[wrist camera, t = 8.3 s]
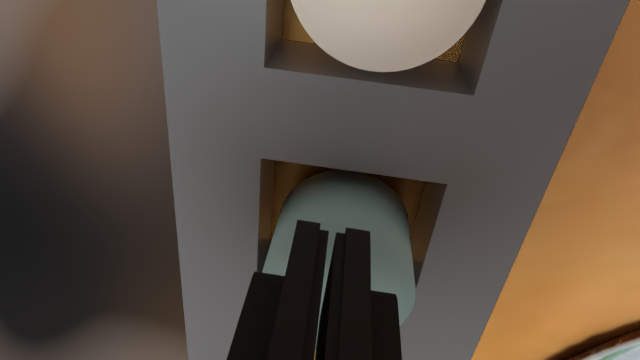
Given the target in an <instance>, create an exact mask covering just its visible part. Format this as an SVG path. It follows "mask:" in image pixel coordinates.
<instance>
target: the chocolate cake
mask: <svg viewBox="0 0 640 360" xmlns="http://www.w3.org/2000/svg"><path fill="white" fill-rule="evenodd" d="M566 360H640V329H638V330H635V331H632V332H629V333H627V334H625V335H621V336H619V337H617V338H614V339H612V340H610V341H607V342H605V343H603V344H600V345H598V346H595V347H593V348H591V349H589V350H586V351H584V352H582V353H579V354H577V355H575V356H573V357H570V358H568V359H566Z"/></svg>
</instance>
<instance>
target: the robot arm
mask: <svg viewBox="0 0 640 360" xmlns="http://www.w3.org/2000/svg"><path fill="white" fill-rule="evenodd" d="M320 225H321V223H316V222H310V221H304V220H297V224H296V228H295V233H294V237H293V242H292V246H291V251H290V255H289V260H288V264H287V269H286V273H285V276H280V275H274V274H268V273H262V272H254V273H253V276H252V278H251V282H250V285H249V288H248V291H247V295H246V298H245V301H244V304H243V308H242V311H241V314H240V317H239V321H238V324H237V327H236V330H235V334H234V337H233V340H232V343H231V346H230V350H229V353H228V356H227V359H226V360H314V356H315V360H402V351H401V338H400V325H399V312H398V301H397V296H396V294H392V293H386V292H379V291H373V290H371V242H370V231H366V230H360V229H354V228H348V227H347V228H346V230H345V233H339V232H336V235H335V241H334V246H333V251H332V256H331V261H330V267H329V272H328V277H327V282H326V288H325V293H324V298H323V303H322V308H321V314H320V320H319V313H320V304H321V296H322V287H323V278H324V270H325V261H326V253H327V244H328V235H329V231H326V230H320ZM318 321H319V327H318ZM317 330H318V336H317ZM316 338H317V344H316ZM315 347H316V353H315Z"/></svg>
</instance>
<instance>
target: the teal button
mask: <svg viewBox="0 0 640 360" xmlns="http://www.w3.org/2000/svg"><path fill="white" fill-rule="evenodd" d="M297 220H304V221H310V222H316V223H321V225H320V230H326V231H329V235H328V244H327V253H326V261H325V270H324V278H323V287H322V296H321V304H320V313H319V320H320V314H321V308H322V303H323V298H324V293H325V288H326V282H327V277H328V272H329V267H330V261H331V256H332V251H333V246H334V241H335V235H336V232H339V233H345V230H346V228H347V227H348V228H354V229H360V230H366V231H370V242H371V290H373V291H379V292H386V293H392V294H396V296H397V301H398V312H399V325H401V324H402V323H403V322H404V321H405V320H406V319H407V317H408V316H409V314H410V312H411V311H412V308H413V306H414V302H415V297H416V288H415V278H414V269H413V259H412V249H411V239H410V230H409V220H408V214H407V211H406V208H405V206H404V204H403V202H402V201H401V199H400V198H399V196H398V195H397V194H396V193H395V192H394V191H393V190H392V189H391V188H390V187H389V186H387V185H386V184H385V183H383V182H381V181H380V180H378V179H376V178H374V177H372V176H369V175H366V174H363V173H359V172H354V171H345V170H338V171H328V172H323V173H319V174H316V175H314V176H311V177H309V178H307V179H305V180H303V181H302V182H300V183H299V184H298V185H296V186H295V187H294V188H293V189H292V190H291V191H290V193H289V194H288V195H287V197H286V198H285V200H284V202H283V205H282V208H281V211H280V214H279V218H278V221H277V224H276V228H275V231H274V234H273V238H272V241H271V244H270V248H269V251H268V254H267V258H266V261H265V264H264V268H263V271H262V273H268V274H274V275H280V276H285V273H286V269H287V264H288V260H289V255H290V251H291V246H292V242H293V237H294V233H295V228H296V224H297ZM318 327H319V321H318ZM317 336H318V330H317ZM316 340H317V338H316Z"/></svg>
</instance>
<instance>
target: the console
mask: <svg viewBox="0 0 640 360" xmlns="http://www.w3.org/2000/svg"><path fill="white" fill-rule="evenodd" d="M629 2H630V0H486V1H485V3H484V5H483V8H482V10H481V12H480V13H479V15H478V16H477V18H476V20H475V21H474V23H473V24H472V26H471V27H470V28H469V29H468V30H467V32H466V34H465V37H464V41H463V45H462V49H461V52H460V56H459V60H458V62H450V61H443V60H435V59H433V60H431V61H429V62H426V63H424V64H422V65H420V66H416V67H413V68H410V69H406V70H401V71H395V72H374V71H367V70H362V69H358V68H355V67H352V66H349V65H347V64H345V63H343V62H341V61H339V60H337V59H335V58H334V57H332V56H331V55H329V54H328V53H326V52H325V51H324V50H323V49H322V48H320V47H319V46H318V45H317V44H313V43H305V42H297V41H290V40H282V32H283V14H284V0H157V11H158V22H159V33H160V45H161V55H162V67H163V78H164V90H165V101H166V113H167V124H168V136H169V147H170V158H171V170H172V181H173V192H174V204H175V215H176V227H177V238H178V249H179V261H180V272H181V282H182V283H181V284H182V294H183V305H184V318H185V329H186V340H187V351H188V360H226V359H227V356H228V353H229V350H230V346H231V343H232V340H233V337H234V334H235V330H236V327H237V324H238V321H239V317H240V314H241V311H242V308H243V304H244V301H245V298H246V295H247V291H248V288H249V285H250V282H251V278H252V276H253V273H254V272H262V271H263V268H264V264H265V261H266V258H267V254H268V251H269V248H270V244H271V231H272V213H273V195H274V177H275V160H277V161H284V162H291V163H299V164H306V165H313V166H320V167H327V168H334V169H341V170H349V171H356V172H363V173H370V174H377V175H384V176H392V177H399V178H406V179H413V180H420V181H426V183H425V186H424V190H423V194H422V198H421V201H420V205H419V209H418V212H417V216H416V220H415V224H414V227H413V231H412V235H411V249H412V259H413V269H414V278H415V288H416V297H415V302H414V306H413V308H412V311H411V312H410V314H409V316H408V317H407V319H406V320H405V321H404V322H403V323H402V324H401V325H400V338H401V351H402V360H471V358H472V356H473V354H474V351H475V349H476V347H477V345H478V342H479V340H480V338H481V336H482V333H483V331H484V329H485V327H486V324H487V322H488V320H489V318H490V315H491V313H492V311H493V309H494V306H495V304H496V302H497V300H498V297H499V295H500V293H501V290H502V288H503V286H504V284H505V281H506V279H507V277H508V275H509V272H510V270H511V268H512V266H513V263H514V261H515V259H516V257H517V254H518V252H519V250H520V248H521V245H522V243H523V241H524V239H525V236H526V234H527V232H528V230H529V227H530V225H531V223H532V221H533V218H534V216H535V214H536V211H537V209H538V207H539V205H540V202H541V200H542V198H543V196H544V193H545V191H546V189H547V187H548V184H549V182H550V180H551V178H552V175H553V173H554V171H555V169H556V166H557V164H558V162H559V160H560V157H561V155H562V153H563V151H564V148H565V146H566V144H567V142H568V139H569V137H570V135H571V133H572V130H573V128H574V126H575V123H576V121H577V119H578V117H579V114H580V112H581V110H582V108H583V105H584V103H585V101H586V99H587V96H588V94H589V92H590V90H591V87H592V85H593V83H594V81H595V78H596V76H597V74H598V72H599V69H600V67H601V65H602V63H603V60H604V58H605V56H606V54H607V51H608V49H609V47H610V45H611V42H612V40H613V38H614V35H615V33H616V31H617V29H618V26H619V24H620V22H621V20H622V17H623V15H624V13H625V11H626V8H627V6H628V4H629ZM316 344H317V340H316ZM315 350H316V347H315Z"/></svg>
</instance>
